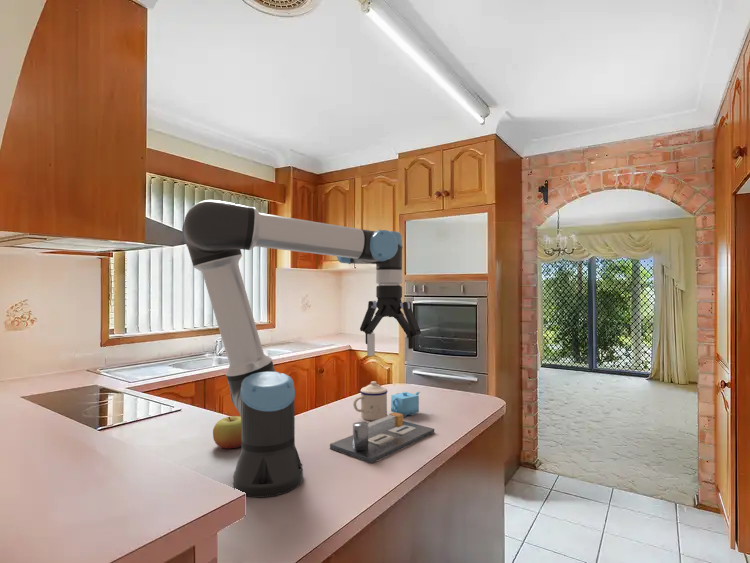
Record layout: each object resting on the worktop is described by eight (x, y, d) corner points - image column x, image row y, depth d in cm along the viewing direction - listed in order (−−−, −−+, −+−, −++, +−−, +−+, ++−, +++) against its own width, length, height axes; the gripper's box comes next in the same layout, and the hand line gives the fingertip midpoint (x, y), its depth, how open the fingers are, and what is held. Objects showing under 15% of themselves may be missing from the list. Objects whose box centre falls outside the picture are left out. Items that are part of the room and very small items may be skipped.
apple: (213, 441, 121) (212, 413, 121) (248, 437, 124) (248, 409, 124) (212, 454, 111) (212, 424, 112) (251, 449, 115) (251, 419, 115)
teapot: (414, 408, 151) (414, 387, 151) (426, 412, 146) (426, 390, 146) (387, 414, 144) (387, 392, 144) (398, 419, 139) (398, 396, 139)
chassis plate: (371, 463, 105) (371, 456, 105) (330, 448, 115) (329, 442, 115) (434, 432, 126) (434, 427, 126) (394, 422, 136) (394, 417, 136)
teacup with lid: (379, 411, 148) (379, 377, 148) (392, 418, 140) (392, 382, 140) (348, 416, 143) (347, 381, 143) (360, 424, 135) (359, 387, 135)
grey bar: (361, 451, 109) (360, 427, 109) (349, 447, 111) (349, 424, 111) (404, 432, 122) (404, 411, 122) (393, 429, 125) (393, 408, 125)
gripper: (432, 284, 120) (433, 360, 119) (364, 285, 135) (364, 352, 135) (418, 284, 114) (418, 364, 114) (348, 284, 129) (348, 355, 129)
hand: (389, 357), depth 124 cm, fingers open, 13 cm apart
